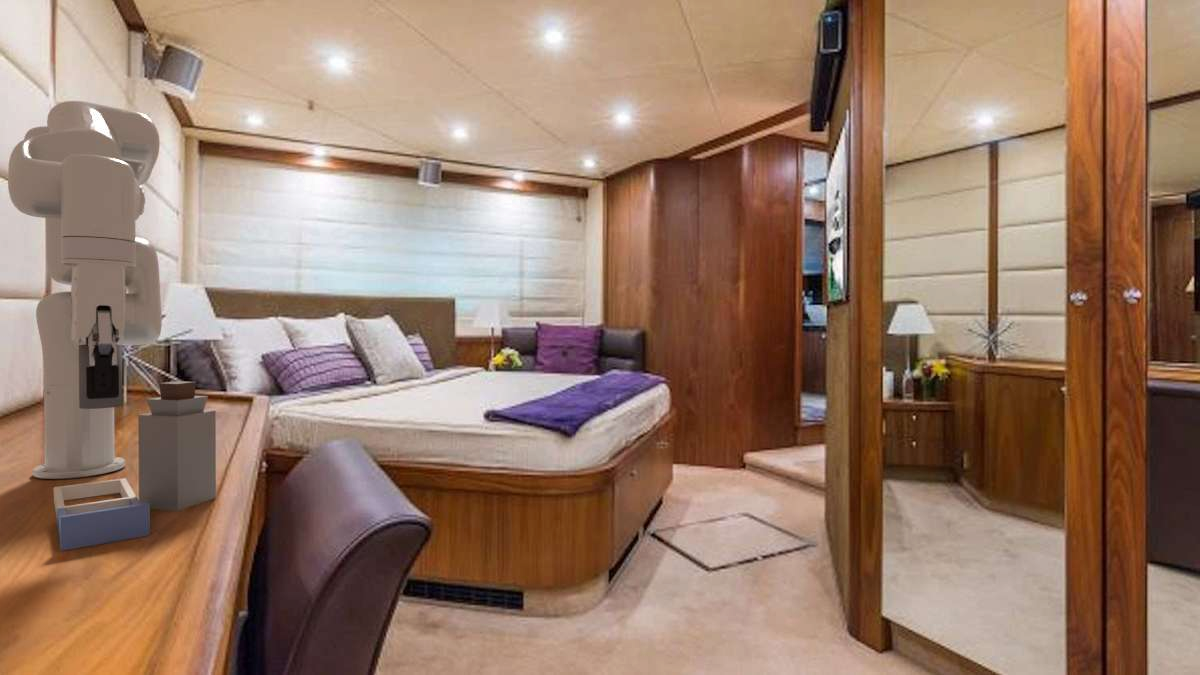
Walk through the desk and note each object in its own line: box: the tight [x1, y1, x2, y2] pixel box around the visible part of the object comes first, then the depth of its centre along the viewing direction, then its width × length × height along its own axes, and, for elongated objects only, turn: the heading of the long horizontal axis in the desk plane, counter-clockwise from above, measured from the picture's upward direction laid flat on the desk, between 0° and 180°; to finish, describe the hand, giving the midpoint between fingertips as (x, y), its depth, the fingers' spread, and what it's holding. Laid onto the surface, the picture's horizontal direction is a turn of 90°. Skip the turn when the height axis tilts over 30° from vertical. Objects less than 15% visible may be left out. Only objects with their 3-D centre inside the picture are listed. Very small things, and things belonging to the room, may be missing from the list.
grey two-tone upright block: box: [79, 344, 124, 409], centre depth 82 cm, size 4×4×8 cm
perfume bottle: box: [137, 380, 217, 512], centre depth 94 cm, size 7×7×18 cm
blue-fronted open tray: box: [53, 477, 151, 552], centre depth 87 cm, size 26×9×4 cm, turn 42°
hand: (101, 394), depth 82 cm, fingers closed on grey two-tone upright block, 4 cm apart
